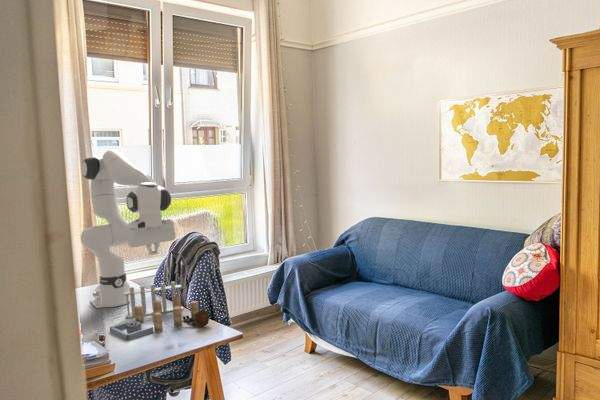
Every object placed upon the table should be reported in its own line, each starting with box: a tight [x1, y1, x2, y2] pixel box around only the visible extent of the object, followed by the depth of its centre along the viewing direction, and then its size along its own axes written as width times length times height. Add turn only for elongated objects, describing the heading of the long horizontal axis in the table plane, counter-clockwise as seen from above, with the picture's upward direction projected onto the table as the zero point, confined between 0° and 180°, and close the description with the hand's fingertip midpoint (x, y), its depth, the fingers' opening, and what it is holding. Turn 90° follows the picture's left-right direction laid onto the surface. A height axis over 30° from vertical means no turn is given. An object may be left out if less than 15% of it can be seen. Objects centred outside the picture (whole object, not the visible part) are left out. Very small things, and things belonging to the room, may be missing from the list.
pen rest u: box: [109, 319, 154, 341], centre depth 194 cm, size 15×11×2 cm
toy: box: [182, 309, 210, 328], centre depth 200 cm, size 10×7×15 cm
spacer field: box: [134, 295, 200, 333], centre depth 206 cm, size 19×21×7 cm
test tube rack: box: [124, 281, 184, 319], centre depth 217 cm, size 25×4×13 cm, turn 110°
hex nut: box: [125, 322, 143, 334], centre depth 195 cm, size 6×5×3 cm
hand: (153, 254), depth 201 cm, fingers closed
